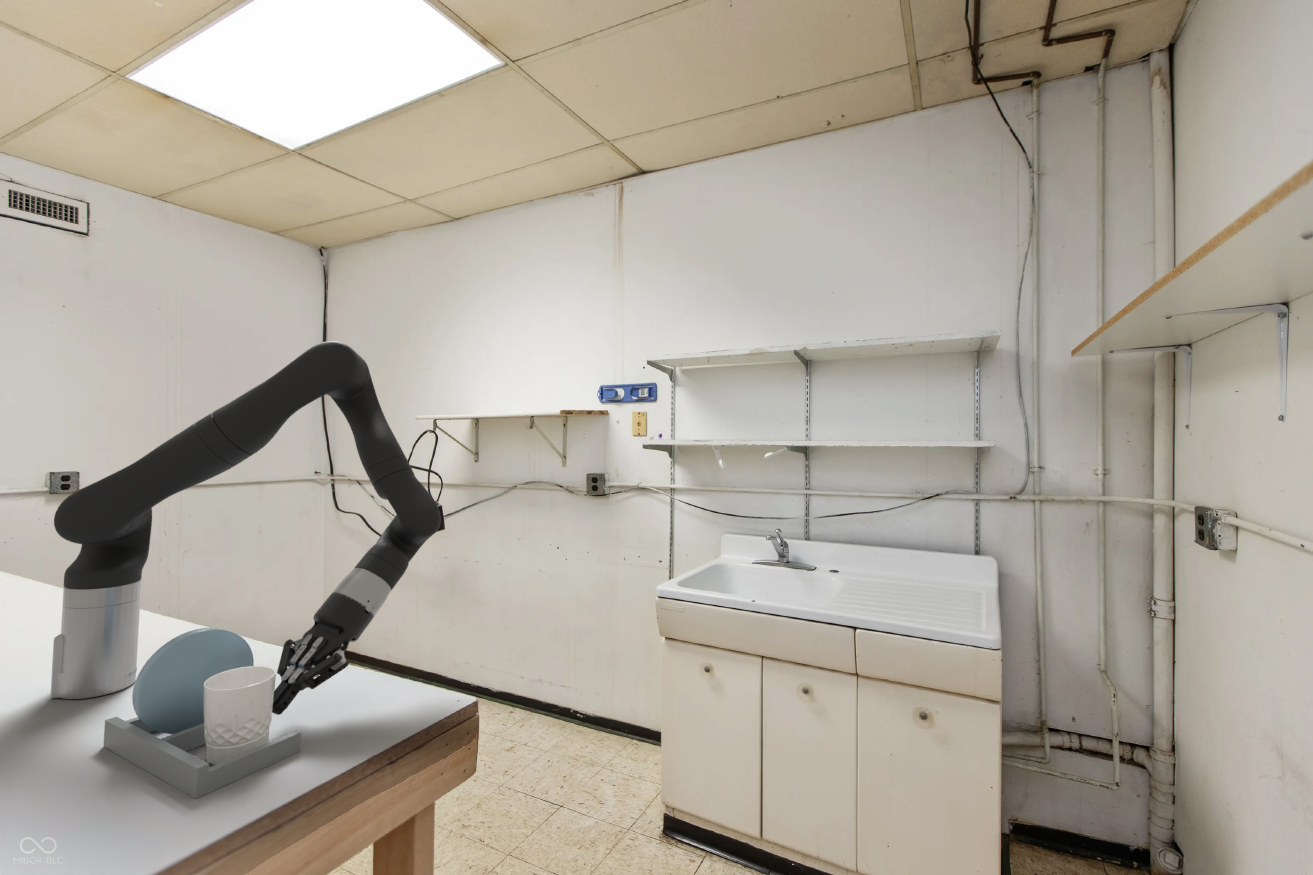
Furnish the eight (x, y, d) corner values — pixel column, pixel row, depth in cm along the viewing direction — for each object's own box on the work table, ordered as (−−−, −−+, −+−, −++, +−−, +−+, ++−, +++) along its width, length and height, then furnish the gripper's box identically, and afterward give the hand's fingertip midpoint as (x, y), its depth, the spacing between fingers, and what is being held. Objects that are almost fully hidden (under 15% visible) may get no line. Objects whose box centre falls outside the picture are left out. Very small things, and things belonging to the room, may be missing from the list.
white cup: (213, 775, 71) (216, 695, 71) (190, 754, 75) (194, 678, 75) (283, 749, 77) (286, 675, 77) (258, 730, 82) (261, 661, 82)
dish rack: (230, 702, 90) (234, 613, 90) (322, 740, 80) (327, 639, 80) (103, 746, 76) (109, 640, 77) (195, 798, 66) (202, 677, 67)
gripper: (312, 585, 92) (224, 689, 81) (367, 597, 86) (281, 711, 75) (341, 609, 96) (262, 711, 85) (396, 622, 91) (318, 733, 80)
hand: (271, 711), depth 80 cm, fingers closed
